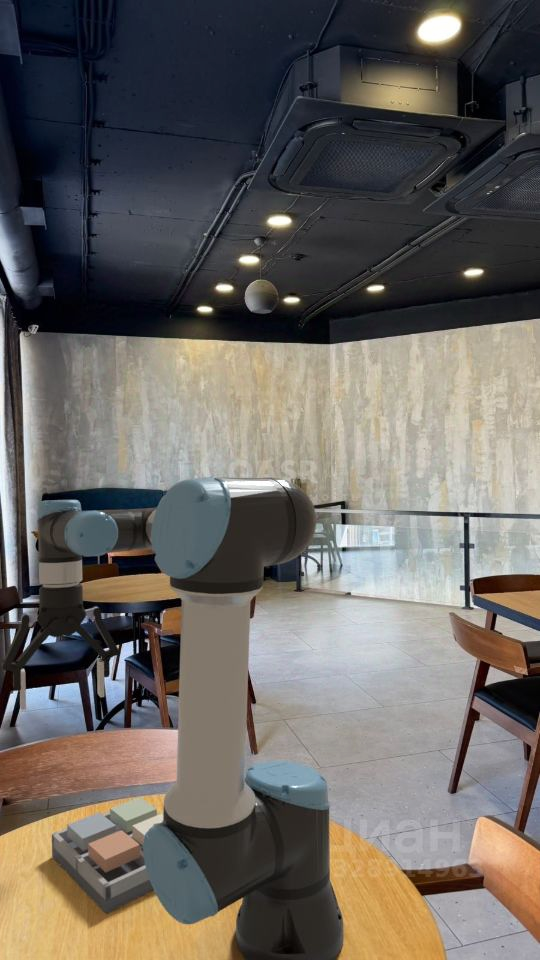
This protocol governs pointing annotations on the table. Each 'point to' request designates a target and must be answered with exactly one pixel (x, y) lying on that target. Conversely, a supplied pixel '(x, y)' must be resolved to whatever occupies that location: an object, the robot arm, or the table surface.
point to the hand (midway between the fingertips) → (63, 701)
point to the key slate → (90, 830)
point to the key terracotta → (113, 850)
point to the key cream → (145, 827)
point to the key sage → (132, 813)
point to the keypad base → (102, 873)
